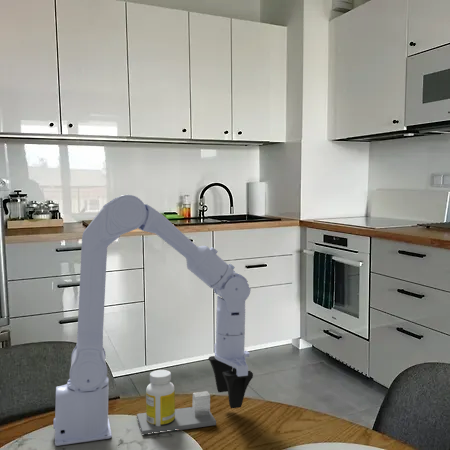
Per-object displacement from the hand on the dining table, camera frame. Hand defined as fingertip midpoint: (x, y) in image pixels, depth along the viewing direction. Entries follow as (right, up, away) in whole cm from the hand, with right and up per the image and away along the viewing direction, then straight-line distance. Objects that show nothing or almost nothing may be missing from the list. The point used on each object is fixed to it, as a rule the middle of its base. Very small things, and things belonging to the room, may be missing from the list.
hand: (229, 398), depth 90 cm
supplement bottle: (-13, -3, -4) cm, 14 cm away
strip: (-10, -3, -3) cm, 11 cm away
